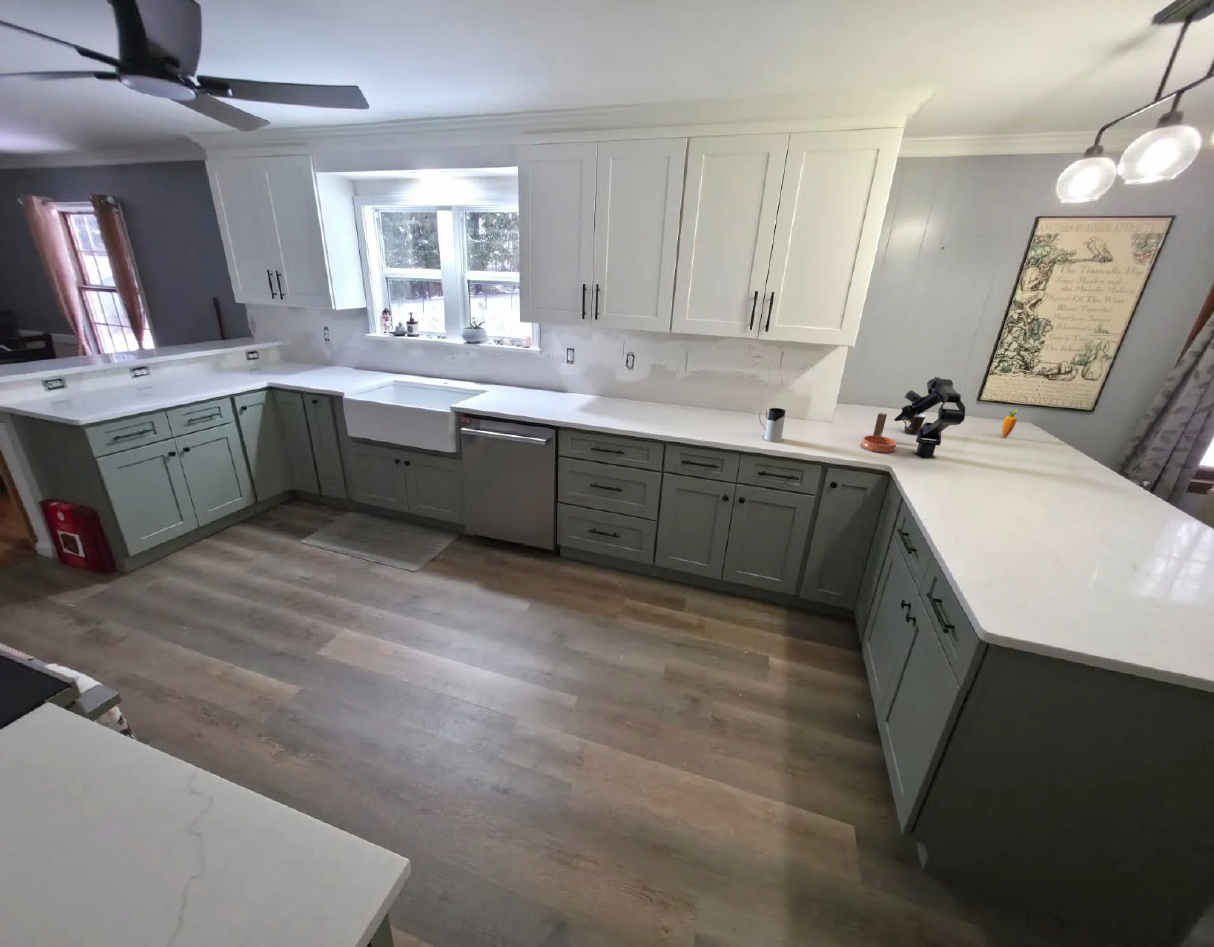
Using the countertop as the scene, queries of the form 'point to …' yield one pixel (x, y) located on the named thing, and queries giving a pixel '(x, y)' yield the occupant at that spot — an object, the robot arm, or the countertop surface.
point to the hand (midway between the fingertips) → (898, 418)
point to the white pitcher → (774, 424)
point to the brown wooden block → (880, 424)
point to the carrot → (1009, 423)
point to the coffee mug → (914, 424)
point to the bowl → (879, 444)
